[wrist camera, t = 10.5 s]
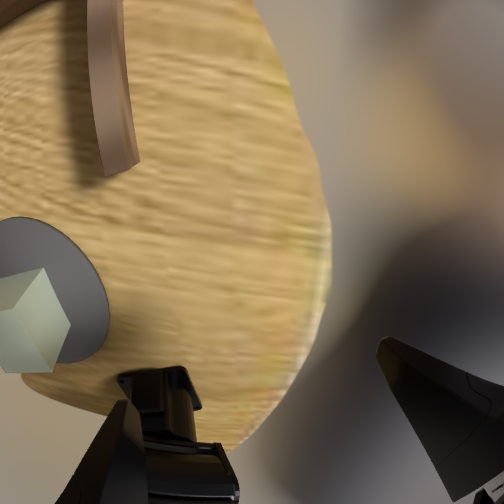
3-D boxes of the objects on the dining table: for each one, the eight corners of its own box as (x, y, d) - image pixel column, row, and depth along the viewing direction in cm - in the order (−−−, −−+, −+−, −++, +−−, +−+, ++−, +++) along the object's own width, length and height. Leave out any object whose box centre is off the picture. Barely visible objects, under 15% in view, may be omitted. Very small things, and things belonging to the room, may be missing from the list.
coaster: (133, 352, 20) (133, 356, 20) (21, 362, 18) (20, 365, 18) (73, 194, 15) (70, 196, 14) (-42, 239, 13) (-45, 242, 12)
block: (70, 324, 18) (52, 372, 13) (26, 330, 17) (5, 372, 12) (43, 267, 15) (12, 308, 11) (-1, 278, 15) (-32, 316, 10)
